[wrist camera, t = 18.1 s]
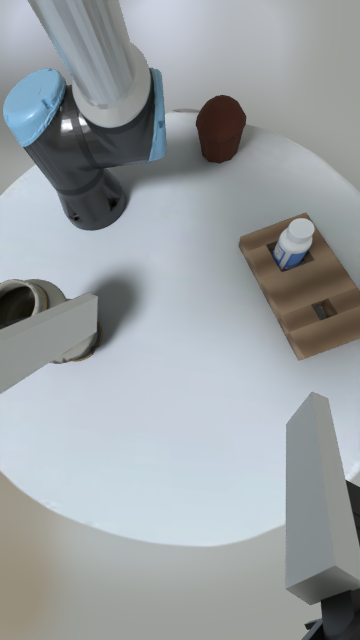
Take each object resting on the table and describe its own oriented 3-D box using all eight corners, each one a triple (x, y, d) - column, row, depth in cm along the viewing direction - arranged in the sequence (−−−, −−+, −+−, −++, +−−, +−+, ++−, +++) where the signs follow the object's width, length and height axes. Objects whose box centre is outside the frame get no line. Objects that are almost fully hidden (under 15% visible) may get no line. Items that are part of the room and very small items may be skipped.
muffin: (248, 159, 56) (257, 111, 46) (205, 173, 56) (204, 128, 46) (232, 128, 59) (236, 78, 50) (191, 141, 60) (188, 94, 50)
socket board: (238, 245, 49) (240, 236, 46) (300, 223, 49) (305, 212, 46) (298, 360, 40) (305, 358, 38) (372, 333, 40) (385, 328, 37)
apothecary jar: (86, 377, 44) (8, 369, 27) (41, 350, 47) (-55, 326, 30) (118, 324, 47) (66, 285, 30) (73, 301, 50) (2, 253, 33)
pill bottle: (302, 255, 46) (325, 220, 37) (292, 276, 45) (313, 246, 36) (276, 245, 48) (292, 210, 38) (265, 266, 47) (279, 235, 37)
